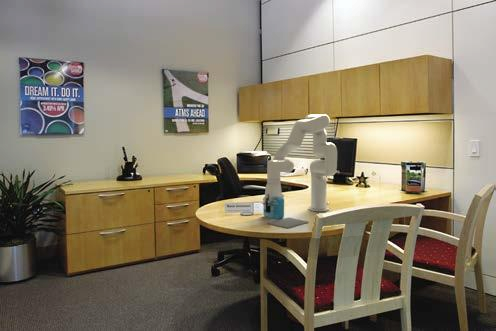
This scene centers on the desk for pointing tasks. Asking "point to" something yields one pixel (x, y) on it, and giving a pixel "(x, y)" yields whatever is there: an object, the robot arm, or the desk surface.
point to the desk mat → (288, 222)
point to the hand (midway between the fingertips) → (273, 210)
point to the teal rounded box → (275, 209)
